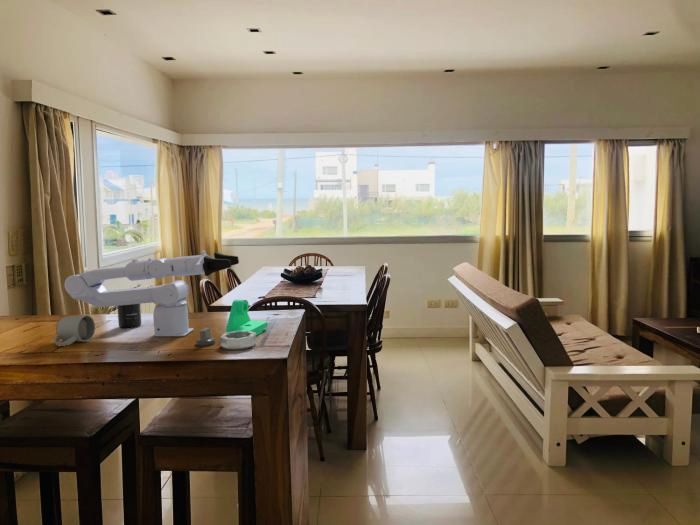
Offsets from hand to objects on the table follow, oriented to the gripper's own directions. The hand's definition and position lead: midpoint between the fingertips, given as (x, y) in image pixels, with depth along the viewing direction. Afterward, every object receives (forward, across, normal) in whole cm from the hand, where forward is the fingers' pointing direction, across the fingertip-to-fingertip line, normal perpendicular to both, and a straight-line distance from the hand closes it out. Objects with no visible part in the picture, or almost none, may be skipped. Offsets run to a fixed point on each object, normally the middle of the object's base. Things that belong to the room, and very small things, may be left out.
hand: (234, 261), depth 161 cm
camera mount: (+1, 0, +22) cm, 22 cm away
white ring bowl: (+2, -13, +22) cm, 25 cm away
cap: (-8, -11, +21) cm, 25 cm away
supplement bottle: (-40, +9, +19) cm, 45 cm away
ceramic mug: (-48, -9, +18) cm, 52 cm away
